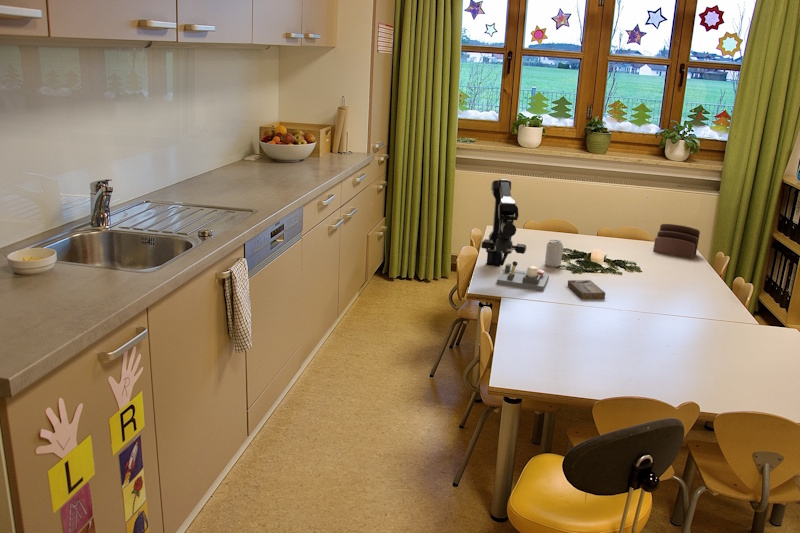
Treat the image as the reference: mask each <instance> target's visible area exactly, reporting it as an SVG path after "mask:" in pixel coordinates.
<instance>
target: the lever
mask: <svg viewBox="0 0 800 533" xmlns="http://www.w3.org/2000/svg"><path fill="white" fill-rule="evenodd" d="M517 266H518V261H516V260H514V261H512V263H511V269H512V270H511V273H510V276H513V274H514V271H515V270H516V267H517Z"/></svg>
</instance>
